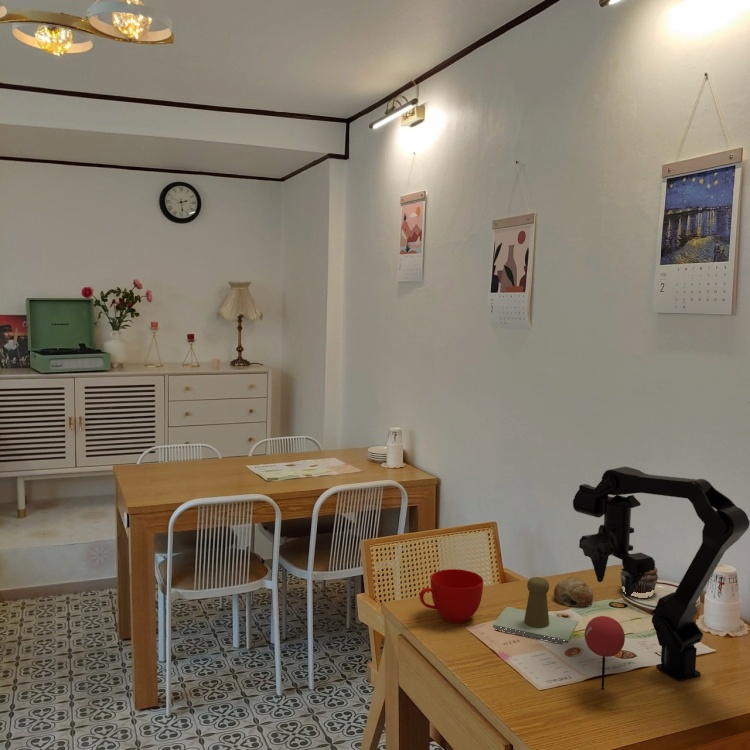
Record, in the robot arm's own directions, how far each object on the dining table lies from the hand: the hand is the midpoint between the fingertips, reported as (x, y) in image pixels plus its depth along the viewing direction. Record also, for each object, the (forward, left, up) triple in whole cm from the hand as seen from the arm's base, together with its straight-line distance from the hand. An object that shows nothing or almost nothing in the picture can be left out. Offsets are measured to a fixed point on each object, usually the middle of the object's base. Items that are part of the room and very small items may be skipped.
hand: (613, 588), depth 172 cm
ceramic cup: (+26, +28, -13) cm, 40 cm away
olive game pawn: (+15, +10, -13) cm, 22 cm away
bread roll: (+24, -8, -13) cm, 29 cm away
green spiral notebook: (+15, +10, -13) cm, 22 cm away
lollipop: (-15, +16, -13) cm, 26 cm away
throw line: (+10, +16, -13) cm, 23 cm away
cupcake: (+21, -28, -13) cm, 37 cm away
